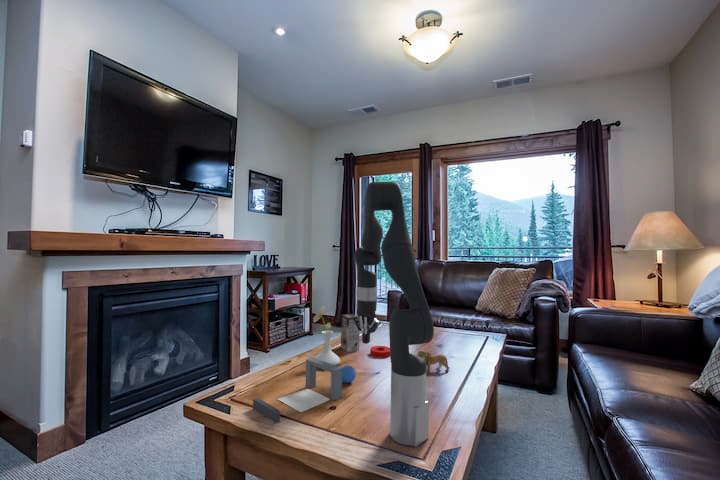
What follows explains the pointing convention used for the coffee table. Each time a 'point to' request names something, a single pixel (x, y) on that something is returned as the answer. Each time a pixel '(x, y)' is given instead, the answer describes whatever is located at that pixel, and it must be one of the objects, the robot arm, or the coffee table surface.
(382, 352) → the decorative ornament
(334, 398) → the gray arch
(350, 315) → the coffee box
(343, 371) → the ball
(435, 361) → the lion figurine
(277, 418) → the wall
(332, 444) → the coffee table surface
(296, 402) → the white panel
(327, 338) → the flower in vase
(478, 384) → the coffee table surface
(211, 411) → the coffee table surface
